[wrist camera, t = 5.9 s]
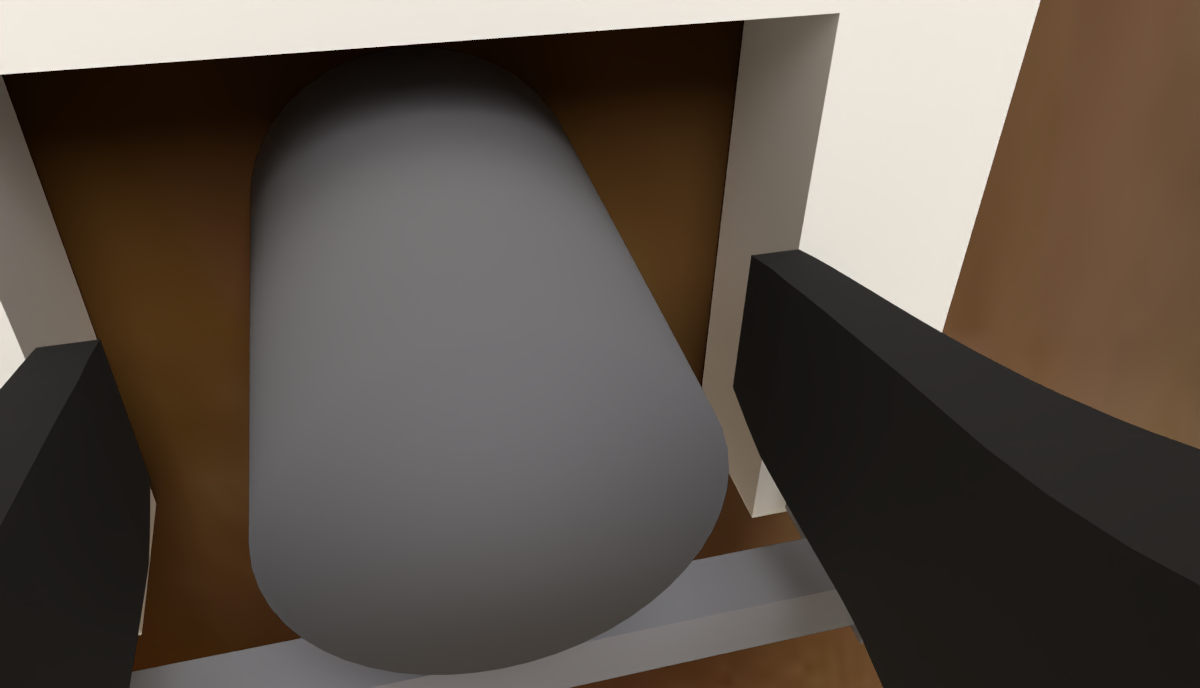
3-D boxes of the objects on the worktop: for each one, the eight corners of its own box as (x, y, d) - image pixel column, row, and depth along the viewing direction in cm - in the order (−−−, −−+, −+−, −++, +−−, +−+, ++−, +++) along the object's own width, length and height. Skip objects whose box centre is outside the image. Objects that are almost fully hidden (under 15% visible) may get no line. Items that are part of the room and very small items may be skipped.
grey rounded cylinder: (569, 315, 16) (699, 629, 11) (275, 348, 14) (285, 710, 10) (583, 39, 13) (762, 305, 8) (224, 55, 12) (204, 368, 7)
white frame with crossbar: (1013, -452, 11) (1439, -458, 7) (828, 392, 18) (982, 620, 14) (-580, -517, 8) (-1437, -593, 4) (-20, 532, 15) (-117, 869, 11)
